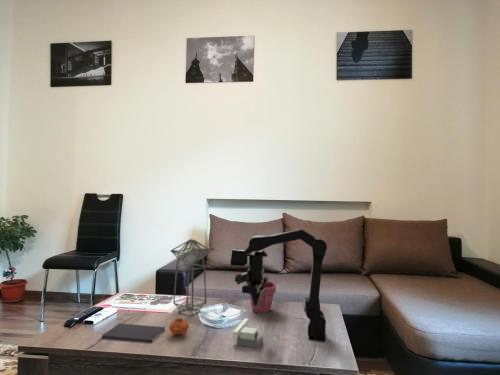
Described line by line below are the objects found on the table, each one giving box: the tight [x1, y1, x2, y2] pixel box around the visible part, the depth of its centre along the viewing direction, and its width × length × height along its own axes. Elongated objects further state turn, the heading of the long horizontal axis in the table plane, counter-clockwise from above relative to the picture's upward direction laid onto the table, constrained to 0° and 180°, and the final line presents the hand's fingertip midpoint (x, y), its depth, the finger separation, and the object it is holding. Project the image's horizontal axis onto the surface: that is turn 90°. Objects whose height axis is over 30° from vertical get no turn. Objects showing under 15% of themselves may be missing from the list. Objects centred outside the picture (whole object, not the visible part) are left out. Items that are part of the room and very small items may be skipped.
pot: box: [168, 317, 190, 337], centre depth 139 cm, size 8×8×7 cm
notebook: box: [101, 323, 166, 344], centre depth 139 cm, size 13×2×21 cm
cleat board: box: [232, 317, 264, 350], centre depth 135 cm, size 10×14×5 cm
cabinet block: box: [240, 327, 259, 340], centre depth 131 cm, size 6×5×5 cm
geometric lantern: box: [170, 238, 213, 317], centre depth 166 cm, size 16×16×35 cm
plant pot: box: [248, 280, 277, 314], centre depth 169 cm, size 14×14×13 cm
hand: (255, 305), depth 139 cm, fingers closed
